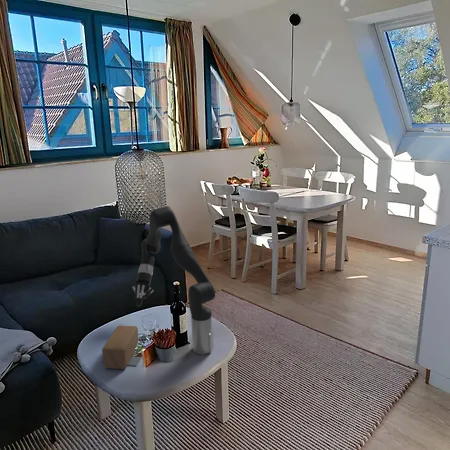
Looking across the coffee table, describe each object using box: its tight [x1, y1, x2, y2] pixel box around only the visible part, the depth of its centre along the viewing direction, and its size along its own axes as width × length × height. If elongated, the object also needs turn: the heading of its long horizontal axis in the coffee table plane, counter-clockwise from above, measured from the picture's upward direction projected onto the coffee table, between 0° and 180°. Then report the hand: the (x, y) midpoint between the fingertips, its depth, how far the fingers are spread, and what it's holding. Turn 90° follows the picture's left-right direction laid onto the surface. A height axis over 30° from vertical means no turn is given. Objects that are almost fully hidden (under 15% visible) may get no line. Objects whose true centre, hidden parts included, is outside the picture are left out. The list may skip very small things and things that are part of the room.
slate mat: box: [101, 354, 142, 367], centre depth 183 cm, size 16×14×1 cm
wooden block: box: [101, 325, 140, 370], centre depth 180 cm, size 10×10×20 cm
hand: (138, 306), depth 203 cm, fingers closed
